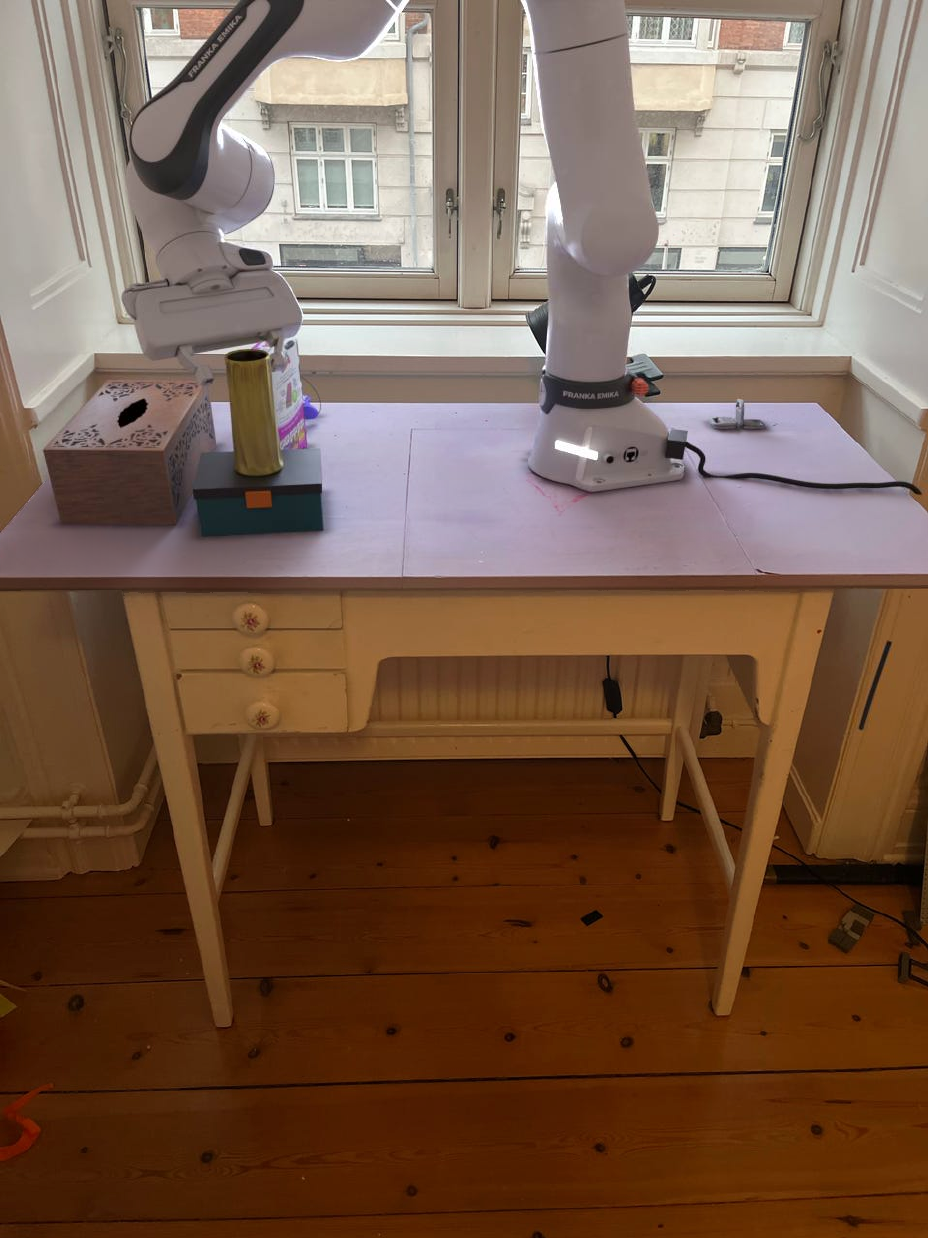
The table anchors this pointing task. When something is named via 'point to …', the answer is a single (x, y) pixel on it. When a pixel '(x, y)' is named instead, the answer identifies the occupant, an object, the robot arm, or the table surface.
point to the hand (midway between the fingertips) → (244, 375)
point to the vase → (253, 413)
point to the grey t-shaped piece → (739, 416)
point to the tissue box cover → (131, 453)
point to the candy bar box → (288, 396)
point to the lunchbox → (259, 495)
